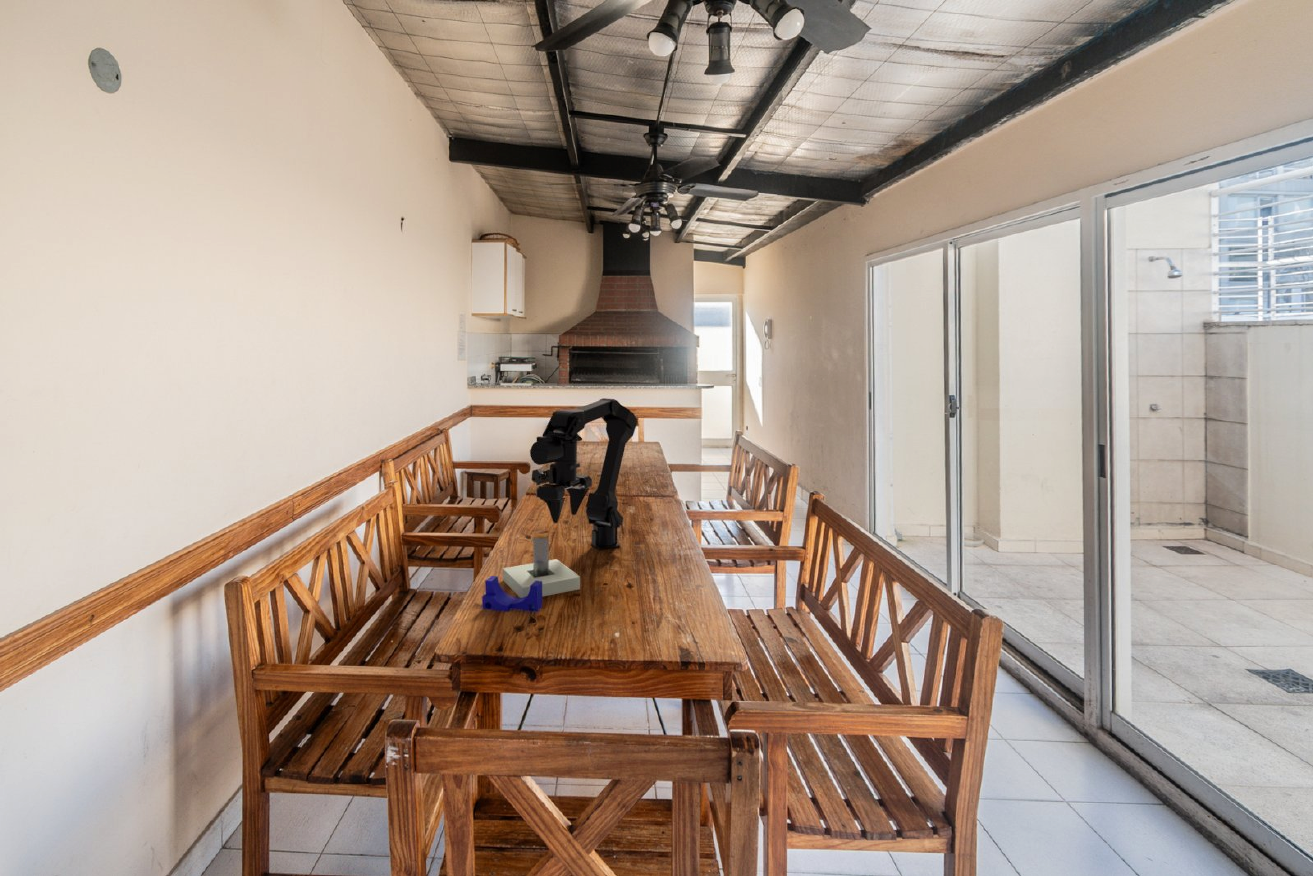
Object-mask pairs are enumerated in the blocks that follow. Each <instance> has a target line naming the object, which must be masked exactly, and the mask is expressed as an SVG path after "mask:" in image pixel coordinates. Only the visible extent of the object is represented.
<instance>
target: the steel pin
mask: <svg viewBox="0 0 1313 876" xmlns="http://www.w3.org/2000/svg"><path fill="white" fill-rule="evenodd" d="M532 541H533V542H532V543H533V544H532V548H533V549H532V552H533V553H532V556H533V558H532V560H533V562H532V563H533V577H534V578H537V577H543V576H548V575H549V560H550V557H549V555H550V554H549V553H550V552H549V545H550V544H549V541H550V540H549V530H546V529H537V530H534V531H533V532H532Z"/></svg>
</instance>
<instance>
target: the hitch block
mask: <svg viewBox="0 0 1313 876" xmlns="http://www.w3.org/2000/svg"><path fill="white" fill-rule="evenodd" d="M502 581H503V582H505V584H506V585H507V586H508V587H509V588H510V589H511V590H512V591H513V592H514V593H515V594H516V595H517V596H518V598H523V597H526V596H528V594H529V591H530V585H532V584H533V583H534V582H535V581H542V598H543V597H547V596H553V595H556V594H562V593H567V592H572V591H577V590H581V576H580V575H578V574H577V573H576V572H575V571H573V570H572V569H570V568H569V567H568V566H567V565H565V564H564V563H562V562H561V561H560V560H558V559H557V558H555V559H549V575H548V576H543V577H537V578H534V577H533V562H531V563H526V564H521V565H520V564H519V565H515V566H508V567H502Z"/></svg>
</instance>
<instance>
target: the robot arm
mask: <svg viewBox="0 0 1313 876" xmlns="http://www.w3.org/2000/svg"><path fill="white" fill-rule="evenodd" d="M598 419H601V420H603V421H604V423H606V426H605V431H606V434H607V438H608V441H607V447H606V451H605V456H604V460H603V463H602V468H601V474H600V476H599V477H600V478H599V481H598V485H597V488H596V489H595V491H594V492H590V493H587V492H589V490H590V488H591V487H592V485H593V480H592V478H591V476H590V475H585V474H577V472H578V471H577V469H578V468H580V466H581V463H580V462H578V461H577V459H578V442H581V441H583V437H581V435H579V434H578V433H580V432H581V431H582V430H584V429H585V427H586V425H587V424H589V423H591V422H593V421H596V420H598ZM637 426H638V418H637V417H636V415H635V413H634V412H632V411H631V409H629V408H627V407H625V406H624V405H622V404H621V403H620V402H619V401H618V400H617V399H614V398H606V397H605V398H604V397H603V398H600V399H599V400H597V401H594V402H592V403H589V404H587V405H586V404H585V405H583V406H581V407H578V408H575V409H574V408H573V409H557V410H555V411H553V413H552V415H551V416H550V419H549V421H548V423H547V425H546V427H545V429H544V432H543V433H542V436H536V441H535V442H534V443H533V444H532V445H531V447H530V449H529V454H530V455H529V456H530V458H531V460H532V461H533V464H536V465H538V466H541V465H546V464H550V466H549V469H546V470H542V469H541V468H536V469H533V470H532V473H531V481H532V482H533V483H535V484H536V488H535V497H536V498H539V500H541V501H543V502H544V503H546V505H547V509H548V512H549V514H550V517H551V519H552V520H551V521H552V522H553V524H558V523H559V520H560V517H561V513H562V509H563V507H564V503H565V501H566V500H565V499H566V498H565V495H566V493H565V492H566V491H567V492H568V494H569V502H570V512H571V515H572V516H576V515H577V513H578V510H579V508H580V507H581V504H582V503H583V501H584V499H585V496H586V495H588V496H587V501H586V504H585V514H586V518H587V521H588V524H589V525H593V526H592V527H593V528H592V530H591V541H590V544H591V545H592V546H594V547H595V548H597V549H598V550H601V551H602V550H607V549H613V548H617V547H618V548H619V547H621V543H618V528H620V527H621V526H623V521H624V517H623V515H622V514H621V513H620V511H619V510H618V505H619V501H618V498H617V496H616V489H617V483H618V479H619V476H620V470H621V465H622V462H623V458H624V454H625V453H624V452H625V449H626V445H627V444H628V443H627V442H629V441H630V440H631V439H632V437H634V435H635V430H636V428H637ZM537 486H538V487H537Z"/></svg>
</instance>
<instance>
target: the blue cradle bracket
mask: <svg viewBox="0 0 1313 876" xmlns="http://www.w3.org/2000/svg"><path fill="white" fill-rule="evenodd" d="M484 583H485V586H484V588H485V589H484V590H485V594H483V595H482V596H481V599H482V601H481V603H482V605H481V608H482V609H483V610H490V611H491V610H492V611H499V612H507V613H508V612H509V611H511V610H517V611H525V612H533V613H534V612H536V613H538V612H539V611H540V610H541V608H542V607H543V597H542V581H535V582H534V583H533V584H532V585H530V591H529V594H528V596H526V597H523V598H520V597H515V596H511V595H509V594H508V593H507V592H505V590H504V589H503V588H502V586H501V584H500V582H499V577H498V576H497V575H491V576H489V577H488V578H487V579H485V581H484Z"/></svg>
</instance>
